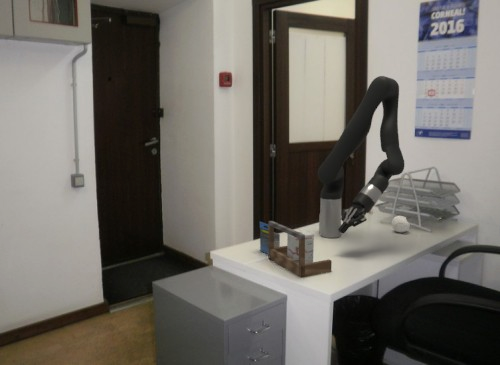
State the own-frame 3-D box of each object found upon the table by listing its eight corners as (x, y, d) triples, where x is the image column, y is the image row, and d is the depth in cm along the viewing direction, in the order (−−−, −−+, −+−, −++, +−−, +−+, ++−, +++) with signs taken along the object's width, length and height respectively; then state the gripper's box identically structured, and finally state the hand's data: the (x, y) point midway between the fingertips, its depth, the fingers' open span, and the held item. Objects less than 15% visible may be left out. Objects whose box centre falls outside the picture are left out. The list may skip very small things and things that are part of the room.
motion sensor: (412, 234, 207) (412, 217, 206) (396, 235, 206) (396, 218, 205) (404, 229, 215) (404, 213, 214) (388, 230, 214) (389, 214, 213)
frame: (268, 258, 176) (268, 221, 174) (296, 253, 182) (296, 217, 179) (301, 277, 156) (301, 235, 153) (331, 271, 161) (331, 230, 159)
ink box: (292, 268, 165) (292, 236, 164) (286, 263, 170) (286, 232, 168) (313, 264, 168) (314, 233, 167) (307, 260, 173) (307, 230, 171)
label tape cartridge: (280, 254, 181) (280, 224, 179) (272, 256, 179) (272, 225, 177) (267, 249, 188) (267, 219, 186) (259, 250, 186) (259, 221, 184)
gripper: (351, 189, 184) (325, 222, 181) (373, 195, 172) (346, 230, 169) (361, 200, 187) (335, 233, 184) (384, 207, 175) (356, 242, 172)
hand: (340, 232), depth 176 cm, fingers closed
